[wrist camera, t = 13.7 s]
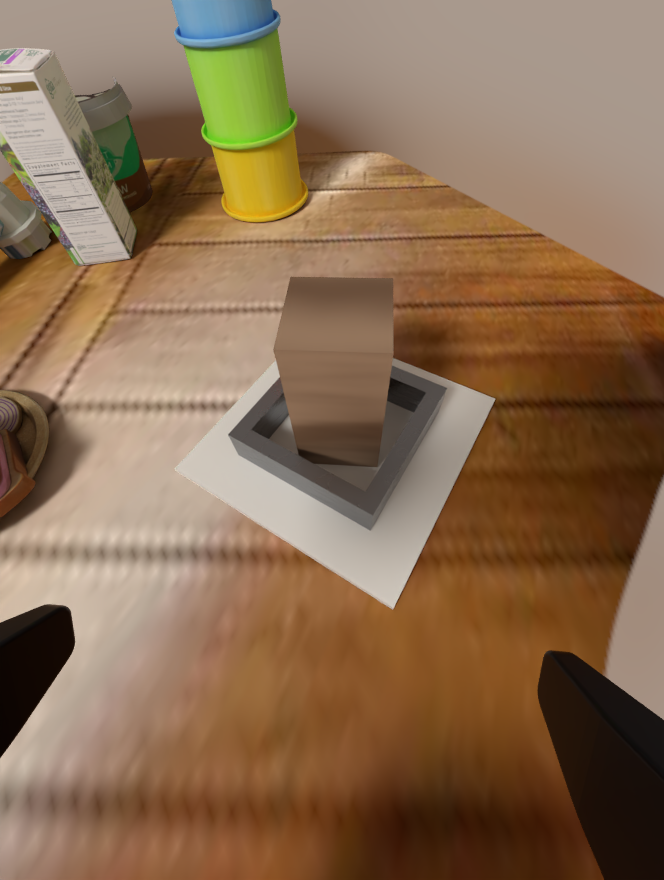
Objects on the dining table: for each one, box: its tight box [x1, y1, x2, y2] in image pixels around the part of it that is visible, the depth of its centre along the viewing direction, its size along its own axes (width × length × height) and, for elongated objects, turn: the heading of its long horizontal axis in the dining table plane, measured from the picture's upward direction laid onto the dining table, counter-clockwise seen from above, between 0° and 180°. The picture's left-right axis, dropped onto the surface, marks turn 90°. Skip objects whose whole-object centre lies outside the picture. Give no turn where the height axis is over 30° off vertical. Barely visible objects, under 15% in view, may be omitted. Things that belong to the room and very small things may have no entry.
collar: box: [228, 366, 447, 531], centre depth 24 cm, size 10×10×2 cm
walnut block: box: [274, 277, 394, 467], centre depth 21 cm, size 5×5×10 cm
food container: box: [75, 77, 152, 212], centre depth 40 cm, size 12×6×10 cm, turn 129°
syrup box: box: [0, 48, 137, 266], centre depth 33 cm, size 6×6×14 cm
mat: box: [175, 358, 495, 610], centre depth 25 cm, size 16×16×1 cm
